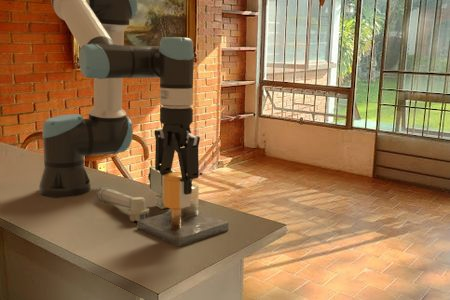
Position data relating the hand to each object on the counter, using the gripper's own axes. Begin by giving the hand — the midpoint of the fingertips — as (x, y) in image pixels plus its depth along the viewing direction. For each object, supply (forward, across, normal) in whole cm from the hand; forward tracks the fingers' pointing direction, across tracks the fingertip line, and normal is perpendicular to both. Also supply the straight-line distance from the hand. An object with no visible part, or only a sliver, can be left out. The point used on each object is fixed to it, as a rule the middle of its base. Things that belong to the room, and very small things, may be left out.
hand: (176, 203), depth 117 cm
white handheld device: (+8, -25, +1) cm, 26 cm away
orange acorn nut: (0, 0, 0) cm, 0 cm away
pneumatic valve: (+8, -19, +12) cm, 24 cm away
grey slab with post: (+8, -2, +4) cm, 9 cm away
